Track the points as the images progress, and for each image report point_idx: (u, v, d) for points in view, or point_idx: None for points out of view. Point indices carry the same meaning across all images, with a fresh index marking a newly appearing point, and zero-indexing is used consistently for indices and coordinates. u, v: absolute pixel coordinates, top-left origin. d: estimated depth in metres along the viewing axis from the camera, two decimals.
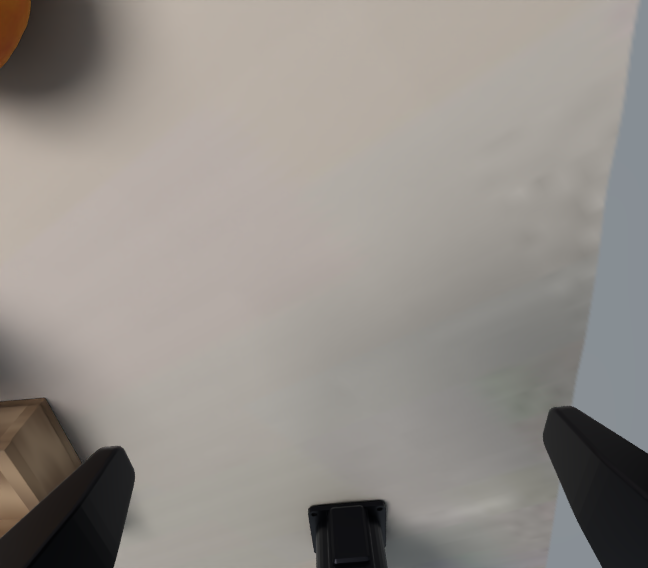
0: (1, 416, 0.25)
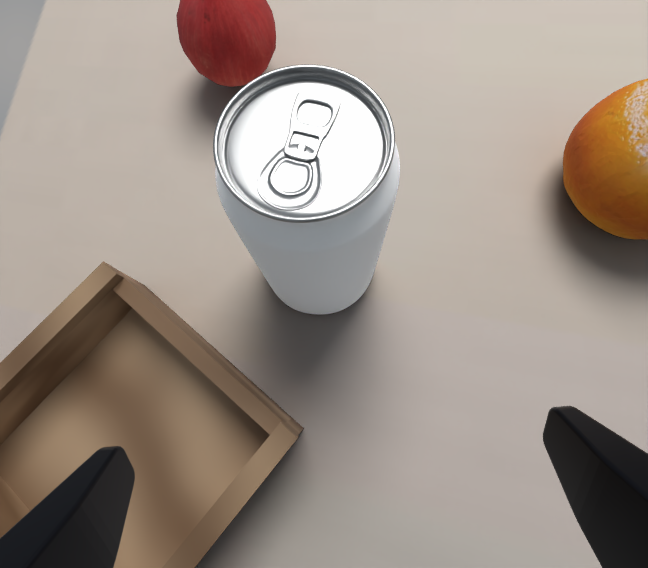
0: (272, 404, 0.20)
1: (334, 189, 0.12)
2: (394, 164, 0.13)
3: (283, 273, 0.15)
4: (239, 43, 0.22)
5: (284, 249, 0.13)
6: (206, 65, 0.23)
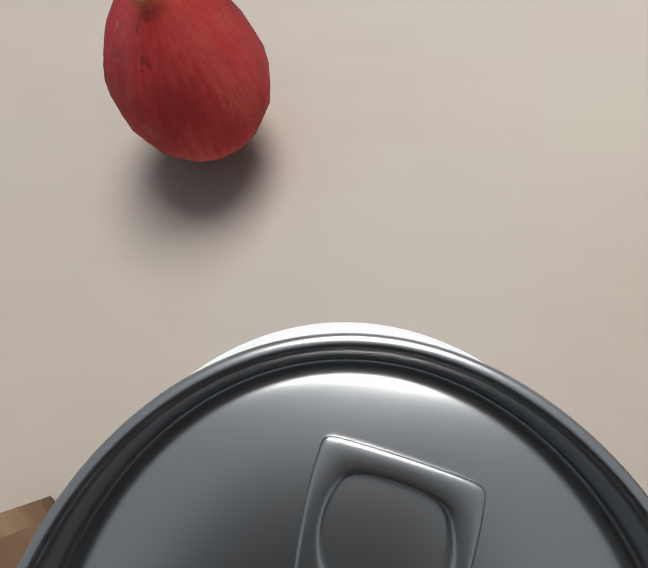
0: None
1: None
2: None
3: None
4: (206, 104, 0.13)
5: None
6: (153, 137, 0.14)
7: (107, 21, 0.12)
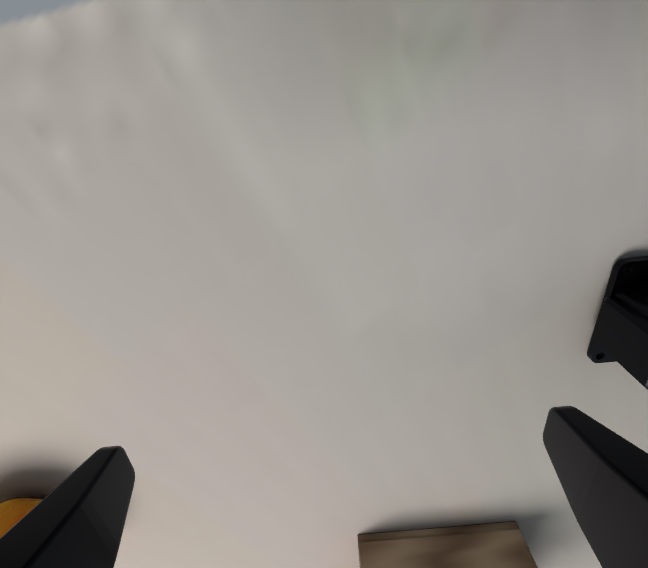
0: (360, 567, 0.31)
1: None
2: None
3: None
4: None
5: None
6: None
7: None
